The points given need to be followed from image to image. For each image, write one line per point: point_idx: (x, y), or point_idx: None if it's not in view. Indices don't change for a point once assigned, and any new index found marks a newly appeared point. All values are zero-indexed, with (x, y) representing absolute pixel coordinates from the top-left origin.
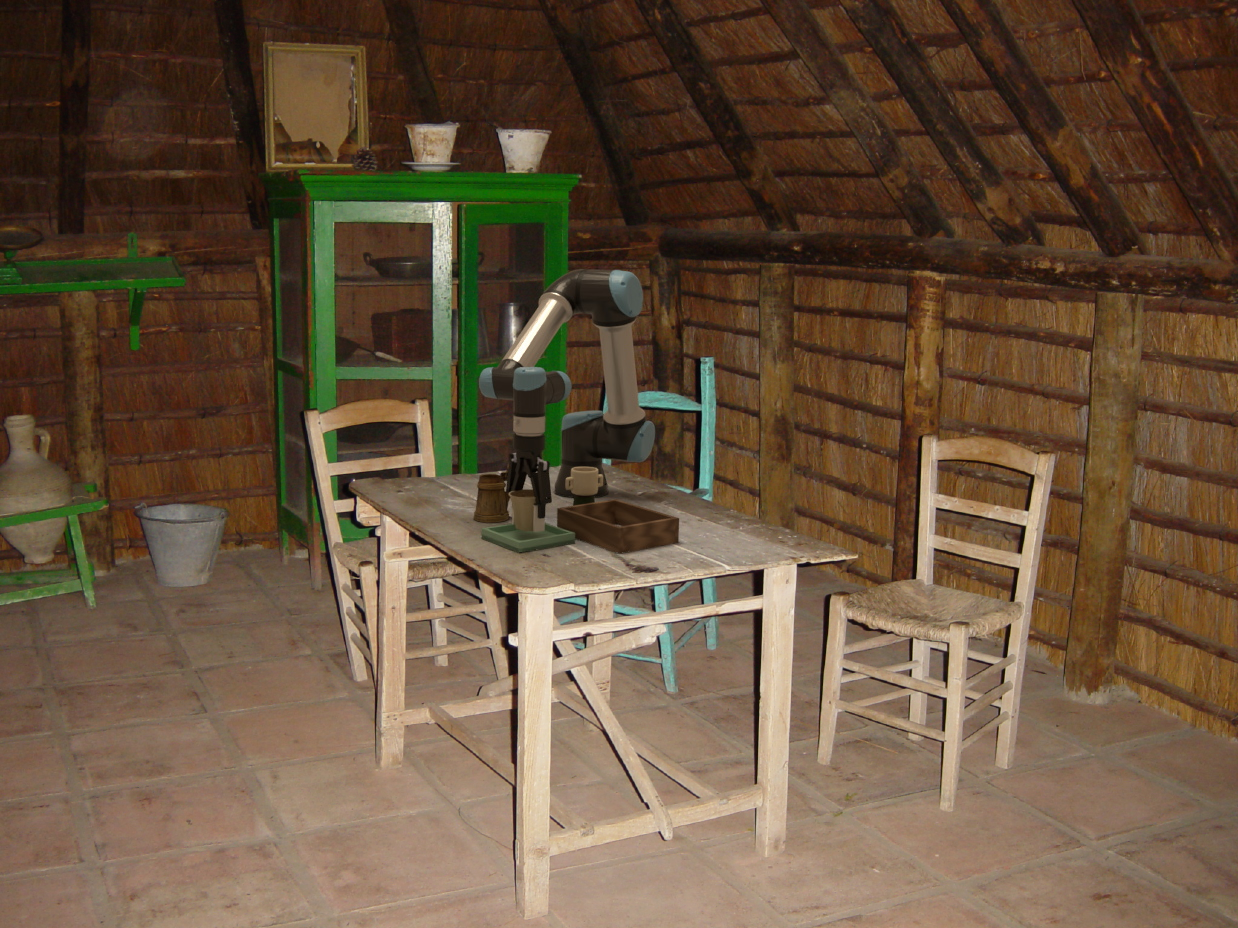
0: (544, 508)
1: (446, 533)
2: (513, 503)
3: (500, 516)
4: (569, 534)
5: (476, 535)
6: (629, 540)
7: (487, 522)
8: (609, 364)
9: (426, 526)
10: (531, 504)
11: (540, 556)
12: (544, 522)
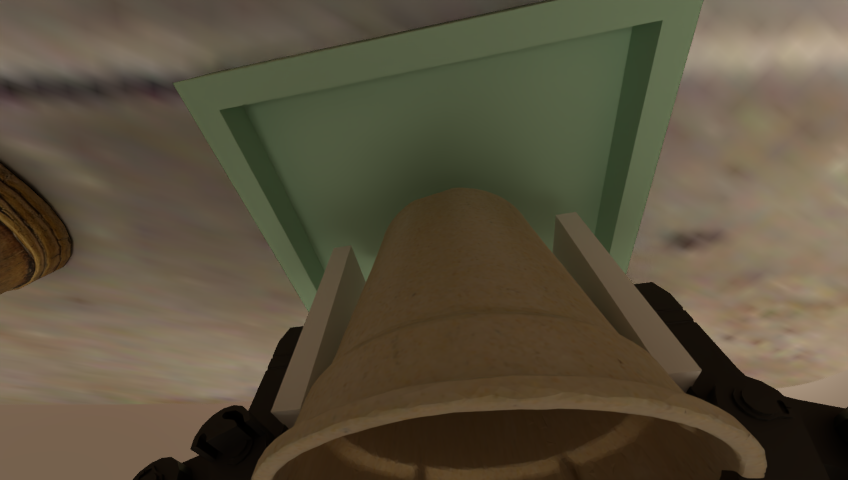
0: (715, 356)
1: (258, 378)
2: (464, 463)
3: (2, 207)
4: (688, 38)
5: None
6: None
7: (69, 247)
8: None
9: (164, 392)
10: (619, 437)
11: (685, 261)
12: (600, 244)
